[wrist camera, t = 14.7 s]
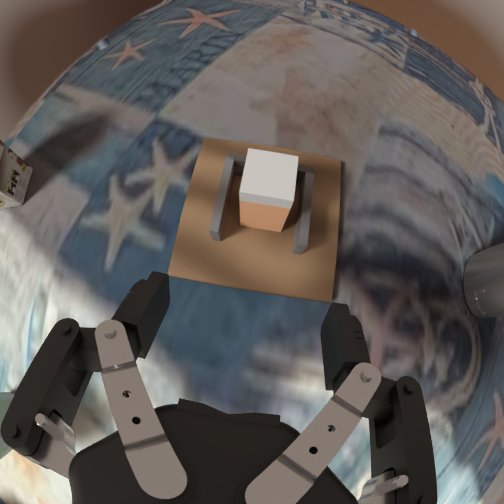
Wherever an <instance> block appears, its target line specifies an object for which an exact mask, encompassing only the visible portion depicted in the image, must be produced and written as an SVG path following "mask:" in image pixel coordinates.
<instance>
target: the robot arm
mask: <svg viewBox="0 0 504 504" xmlns="http://www.w3.org/2000/svg"><path fill="white" fill-rule="evenodd" d="M463 287H464V295H465V299H466V302H467V305H468V307H469V309H470V310H471V312H472V313H473V314H474V315H475V316H476V317H478V318H490V317H499V316H504V242H503V243H500V244H498V245H495V246H493V247H490V248H488V249H485V250H483V251H481V252H478V253H475V254H473V255H472V256H471V257H470V258H469V260H468V261H467V264H466V266H465V271H464V278H463ZM169 303H170V291H169V276H168V274H165V273H160V272H155V271H153V272H152V273H151V274H150V276H149V278H148V279H147V280H143V279H141V280H140V281H138V282H137V283H136V284H134V285H133V287H132V288H131V290H130V291H129V293H128V294H127V296H126V297H125V299H124V300H123V302H122V303H121V305H120V306H119V308H118V309H117V311H116V313H115V314H114V316H113V317H112V319H111V320H106V321H104V322H102V323H100V324H99V325H98V326H97V328H83V327H79V324H78V322H77V321H76V320H74V319H71V318H65V319H62V320H60V321H58V322H57V323H56V324H55V325H54V327H53V328H52V330H51V332H50V333H49V335H48V336H47V338H46V339H45V341H44V343H43V344H42V346H41V348H40V349H39V351H38V353H37V354H36V356H35V358H34V359H33V361H32V363H31V365H30V367H29V368H28V370H27V372H26V374H25V376H24V377H23V379H22V381H21V383H20V385H19V387H18V389H17V391H16V393H15V395H14V397H13V399H12V401H11V403H10V406H9V408H8V410H7V412H6V414H5V417H4V419H3V421H2V424H1V429H0V431H1V436H2V439H3V441H4V442H5V443H6V444H7V445H8V446H9V447H11V448H12V449H14V450H15V451H17V452H18V453H19V454H20V455H22V456H23V457H25V458H27V459H28V460H30V461H32V462H33V463H36V464H38V465H40V466H42V467H44V468H47V469H51V470H53V471H55V472H57V473H58V474H60V475H62V476H64V477H66V478H68V479H69V482H70V486H71V492H72V504H437V483H436V471H435V462H434V454H433V447H432V440H431V434H430V428H429V423H428V418H427V413H426V408H425V403H424V399H423V394H422V390H421V387H420V384H419V383H418V382H417V381H416V380H415V379H414V378H412V377H409V376H403V377H401V378H400V379H399V380H398V381H394V380H390V379H387V378H384V377H382V376H381V374H380V372H379V370H378V369H377V368H376V367H375V366H374V365H372V364H371V362H370V358H369V353H368V349H367V345H366V341H365V337H364V333H363V330H362V326H361V323H360V322H359V320H358V319H357V318H356V316H353V315H350V312H349V308H348V305H347V304H340V303H332V304H331V305H330V308H329V310H328V312H327V315H326V317H325V319H324V322H323V324H322V327H321V344H322V354H323V364H324V375H325V387H326V390H333V392H334V395H333V397H332V398H331V399H330V400H329V402H328V403H327V404H326V405H325V406H324V408H323V409H322V410H321V411H320V413H319V414H318V415H317V416H316V417H315V418H314V420H313V421H312V422H311V423H310V424H309V425H308V426H307V428H306V429H305V430H304V431H303V432H302V433H301V434H300V433H299V432H298V431H297V430H296V429H294V428H293V427H291V426H289V425H287V424H285V423H283V422H280V415H273V414H264V413H256V412H255V413H243V414H226V413H224V412H221V411H219V410H217V409H214V408H212V407H210V406H208V405H205V404H203V403H198V402H193V401H189V400H185V399H181V398H179V402H178V404H170V405H164V406H160V407H157V408H155V409H154V408H153V406H152V403H151V401H150V399H149V396H148V394H147V391H146V389H145V386H144V383H143V381H142V378H141V376H140V373H139V370H138V367H137V364H136V360H137V358H138V357H140V358H144V359H145V358H146V356H147V354H148V351H149V349H150V347H151V345H152V342H153V340H154V338H155V336H156V334H157V331H158V329H159V327H160V325H161V323H162V321H163V319H164V316H165V314H166V312H167V310H168V307H169ZM93 372H101V375H102V379H103V383H104V387H105V390H106V394H107V397H108V401H109V404H110V407H111V411H112V414H113V417H114V420H115V423H116V426H117V429H118V430H117V431H116V432H114V433H112V434H110V435H109V436H107V437H105V438H103V439H102V440H100V441H98V442H96V443H94V444H92V445H91V446H89V447H87V448H85V449H83V450H81V451H80V452H78V453H77V454H76V451H75V441H76V438H75V434H74V431H73V430H72V429H71V425H72V422H73V420H74V417H75V415H76V412H77V410H78V407H79V405H80V402H81V400H82V397H83V395H84V392H85V390H86V388H87V385H88V383H89V381H90V378H91V376H92V374H93ZM362 417H365V418H369V429H370V445H371V479H370V480H368V481H367V482H366V483H365V485H364V487H363V490H362V494H361V497H360V499H359V500H358V501H357V499H356V498H355V497H354V496H353V494H352V493H351V492H350V491H349V490H348V489H347V488H346V487H345V486H344V484H343V483H342V482H341V481H340V480H339V479H338V478H337V477H336V475H335V474H334V473H333V472H332V471H331V470H330V468H329V467H328V466H327V465H328V464H329V463H330V461H331V460H332V459H333V458H334V456H335V455H336V454H337V452H338V451H339V450H340V448H341V447H342V446H343V444H344V443H345V442H346V440H347V439H348V437H349V436H350V434H351V433H352V432H353V430H354V429H355V427H356V426H357V424H358V423H359V421H360V420H361V418H362Z"/></svg>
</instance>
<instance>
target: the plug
mask: <svg viewBox="0 0 504 504" xmlns="http://www.w3.org/2000/svg"><path fill="white" fill-rule="evenodd" d="M297 167H298V156H293V155H288V154H282V153H276V152H270V151H264V150H258V149H251V148H248V152H247V157H246V162H245V167H244V171H243V176H242V181H241V186H240V191H239V202H240V226H246V227H252V228H258V229H264V230H270V231H276V232H281V230H282V228H283V225H284V223H285V221H286V218H287V216H288V214H289V211H290V209H291V206H292V204H293V202H294V194H295V186H296V176H297Z"/></svg>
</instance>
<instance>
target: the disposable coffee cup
mask: <svg viewBox="0 0 504 504" xmlns="http://www.w3.org/2000/svg"><path fill="white" fill-rule="evenodd" d="M14 395H15V394H12V393H10V392H3V393H0V429H1V424H2V421H3V419H4V417H5V414H6V412H7V410H8V408H9V406H10V403H11V401H12V399H13V397H14ZM11 450H12V448H11V447H9V446H8V445H7V444H6V443H5V442H4V441H3V439H2V436H1V431H0V459H1V458H2V457H4V456H5V455H6V454H7V453H8V452H10V451H11Z"/></svg>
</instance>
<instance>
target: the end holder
mask: <svg viewBox="0 0 504 504" xmlns="http://www.w3.org/2000/svg"><path fill="white" fill-rule="evenodd" d="M248 148H251V149H258V150H264V151H270V152H276V153H282V154H288V155H293V156H298V167H297V176H296V186H295V194H294V202H293V204H292V206H291V209H290V211H289V214H288V216H287V218H286V221H285V223H284V225H283V228H282V230H281V232H276V231H270V230H264V229H258V228H252V227H246V226H240V202H239V191H240V186H241V181H242V176H243V171H244V167H245V162H246V157H247V152H248ZM340 184H341V160H337V159H332V158H328V157H323V156H319V155H314V154H309V153H304V152H299V151H294V150H289V149H283V148H277V147H271V146H265V145H259V144H252V143H245V142H237V141H229V140H220V139H210V138H204V139H203V142H202V145H201V148H200V152H199V155H198V158H197V161H196V165H195V168H194V171H193V175H192V178H191V182H190V185H189V189H188V193H187V196H186V200H185V204H184V207H183V211H182V215H181V219H180V223H179V227H178V231H177V235H176V239H175V244H174V248H173V252H172V257H171V261H170V266H169V271H168V275H169V276H172V277H177V278H182V279H187V280H192V281H198V282H203V283H209V284H214V285H220V286H226V287H231V288H237V289H243V290H249V291H255V292H261V293H268V294H274V295H281V296H287V297H294V298H301V299H308V300H315V301H322V302H332V295H333V286H334V277H335V267H336V256H337V243H338V229H339V211H340Z"/></svg>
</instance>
